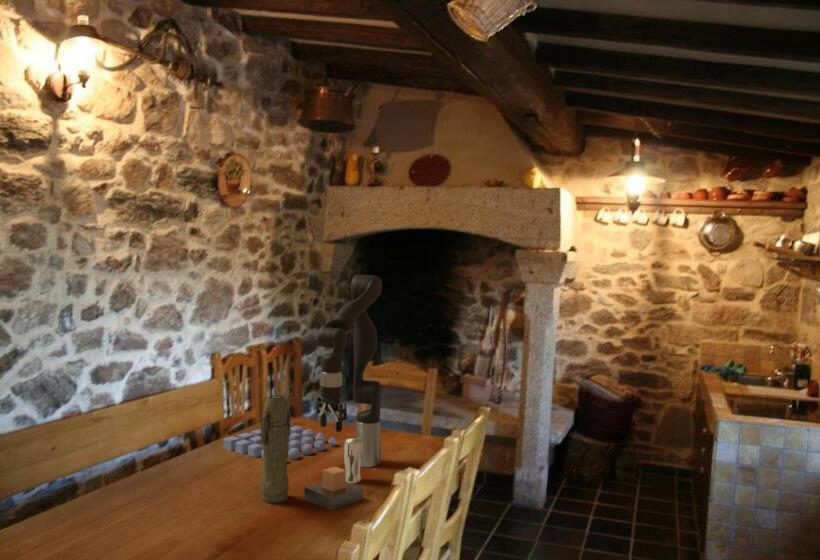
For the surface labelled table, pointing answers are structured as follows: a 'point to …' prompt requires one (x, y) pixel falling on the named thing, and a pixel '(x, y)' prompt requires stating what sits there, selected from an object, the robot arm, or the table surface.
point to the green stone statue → (275, 449)
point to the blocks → (296, 440)
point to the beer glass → (352, 459)
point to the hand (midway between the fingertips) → (330, 429)
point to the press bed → (333, 495)
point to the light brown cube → (334, 478)
